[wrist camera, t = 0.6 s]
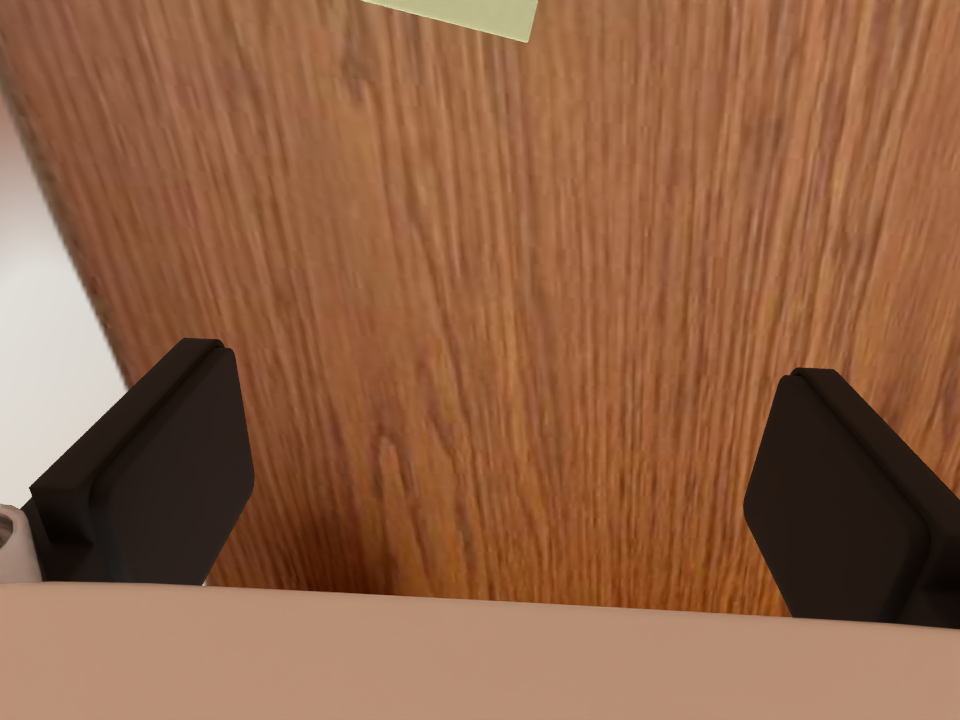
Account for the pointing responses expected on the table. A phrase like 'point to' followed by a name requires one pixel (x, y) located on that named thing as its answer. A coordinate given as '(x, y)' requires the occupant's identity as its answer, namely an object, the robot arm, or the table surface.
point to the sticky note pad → (475, 14)
